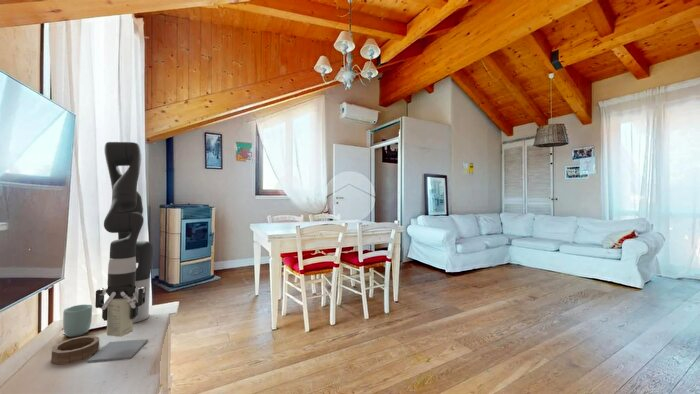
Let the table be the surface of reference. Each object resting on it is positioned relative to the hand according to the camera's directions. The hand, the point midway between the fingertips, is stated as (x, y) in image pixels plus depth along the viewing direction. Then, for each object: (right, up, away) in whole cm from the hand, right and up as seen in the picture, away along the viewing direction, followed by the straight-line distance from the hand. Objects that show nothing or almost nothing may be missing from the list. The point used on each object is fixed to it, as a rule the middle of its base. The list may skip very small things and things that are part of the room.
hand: (120, 318), depth 98 cm
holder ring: (-12, -10, -3) cm, 16 cm away
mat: (0, -11, 0) cm, 11 cm away
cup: (-25, -11, +11) cm, 29 cm away
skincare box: (0, -5, 0) cm, 5 cm away
